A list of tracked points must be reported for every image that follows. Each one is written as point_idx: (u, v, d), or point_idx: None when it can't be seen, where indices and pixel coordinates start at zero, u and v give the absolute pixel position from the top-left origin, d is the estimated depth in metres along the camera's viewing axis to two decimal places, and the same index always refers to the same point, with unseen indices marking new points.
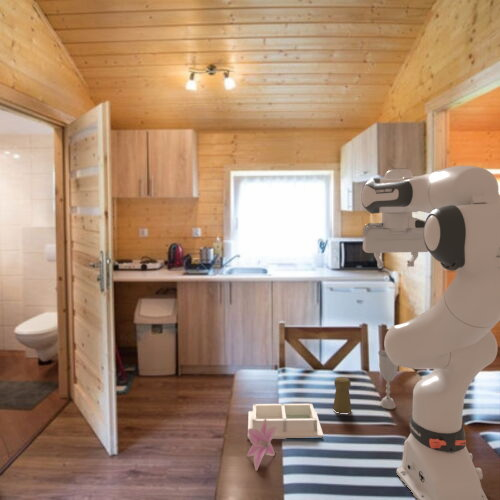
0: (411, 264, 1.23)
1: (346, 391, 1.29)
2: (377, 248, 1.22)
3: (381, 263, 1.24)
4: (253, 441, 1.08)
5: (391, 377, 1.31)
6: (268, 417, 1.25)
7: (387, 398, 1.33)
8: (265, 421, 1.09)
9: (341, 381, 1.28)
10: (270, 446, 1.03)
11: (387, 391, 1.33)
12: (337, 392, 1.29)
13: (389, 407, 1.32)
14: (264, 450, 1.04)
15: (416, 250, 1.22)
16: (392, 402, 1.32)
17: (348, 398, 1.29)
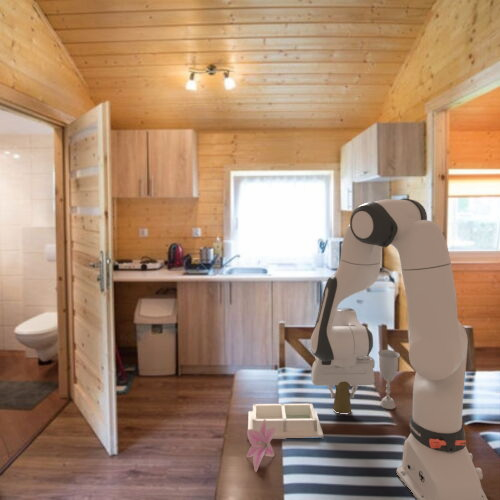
0: None
1: (346, 391, 1.29)
2: None
3: None
4: (252, 442, 1.08)
5: (391, 377, 1.31)
6: (268, 417, 1.25)
7: (387, 398, 1.33)
8: (264, 422, 1.09)
9: None
10: (270, 447, 1.03)
11: (387, 391, 1.33)
12: (337, 392, 1.29)
13: (389, 407, 1.32)
14: (263, 451, 1.04)
15: None
16: (392, 402, 1.32)
17: (348, 398, 1.29)
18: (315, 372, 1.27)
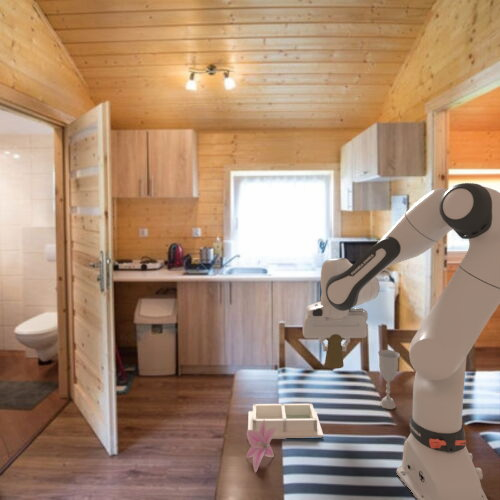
0: None
1: (338, 344, 1.25)
2: None
3: None
4: (252, 443, 1.08)
5: (391, 377, 1.31)
6: (268, 417, 1.25)
7: (387, 398, 1.33)
8: (264, 422, 1.09)
9: None
10: (269, 447, 1.03)
11: (387, 391, 1.33)
12: (329, 345, 1.26)
13: (389, 407, 1.32)
14: (263, 451, 1.04)
15: None
16: (392, 402, 1.32)
17: (340, 352, 1.25)
18: (306, 324, 1.24)
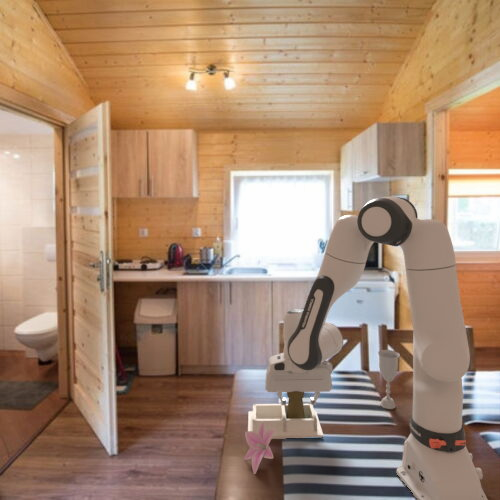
0: None
1: (299, 401, 1.20)
2: None
3: None
4: (250, 444, 1.07)
5: (391, 377, 1.31)
6: (268, 417, 1.25)
7: (387, 398, 1.33)
8: (263, 423, 1.08)
9: None
10: (268, 449, 1.02)
11: (387, 391, 1.33)
12: (289, 402, 1.21)
13: (389, 407, 1.32)
14: (262, 453, 1.03)
15: None
16: (392, 402, 1.32)
17: (301, 409, 1.20)
18: (268, 378, 1.18)
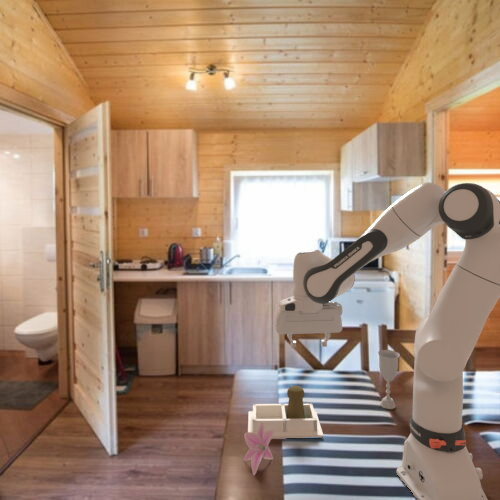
0: None
1: (299, 401, 1.20)
2: None
3: None
4: (250, 445, 1.07)
5: (391, 377, 1.31)
6: (268, 417, 1.25)
7: (387, 398, 1.33)
8: (262, 424, 1.08)
9: (294, 390, 1.20)
10: (268, 450, 1.02)
11: (387, 391, 1.33)
12: (290, 402, 1.21)
13: (389, 407, 1.32)
14: (262, 454, 1.03)
15: None
16: (392, 402, 1.32)
17: (301, 409, 1.20)
18: (279, 319, 1.19)
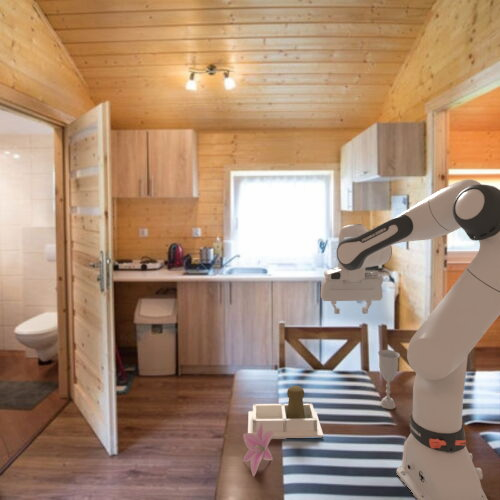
0: None
1: (299, 401, 1.20)
2: None
3: None
4: (249, 446, 1.06)
5: (391, 377, 1.31)
6: (268, 417, 1.25)
7: (387, 398, 1.33)
8: (261, 425, 1.07)
9: (294, 390, 1.20)
10: (267, 451, 1.01)
11: (387, 391, 1.33)
12: (290, 402, 1.21)
13: (389, 407, 1.32)
14: (261, 455, 1.02)
15: None
16: (392, 402, 1.32)
17: (301, 409, 1.20)
18: (325, 287, 1.31)
